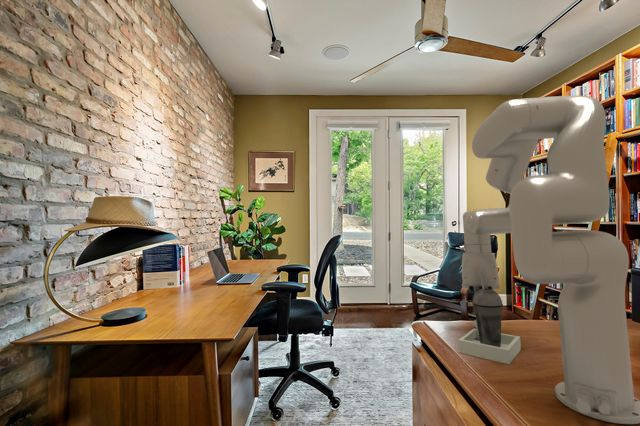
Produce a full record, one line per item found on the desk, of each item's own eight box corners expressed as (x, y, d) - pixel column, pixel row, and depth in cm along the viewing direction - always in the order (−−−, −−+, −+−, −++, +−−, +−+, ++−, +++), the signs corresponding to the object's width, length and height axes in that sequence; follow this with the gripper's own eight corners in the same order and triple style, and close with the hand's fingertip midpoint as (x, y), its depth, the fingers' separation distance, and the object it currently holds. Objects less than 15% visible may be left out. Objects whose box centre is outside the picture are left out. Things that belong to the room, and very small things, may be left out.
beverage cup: (511, 354, 78) (505, 273, 79) (479, 353, 79) (474, 274, 80) (500, 343, 85) (495, 269, 86) (471, 342, 86) (466, 270, 87)
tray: (509, 364, 74) (508, 350, 74) (459, 352, 82) (458, 339, 82) (521, 349, 82) (520, 336, 82) (474, 339, 90) (473, 328, 90)
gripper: (452, 250, 99) (455, 308, 98) (506, 250, 93) (510, 311, 92) (452, 248, 106) (456, 302, 105) (503, 247, 100) (507, 305, 99)
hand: (481, 306), depth 99 cm, fingers closed
